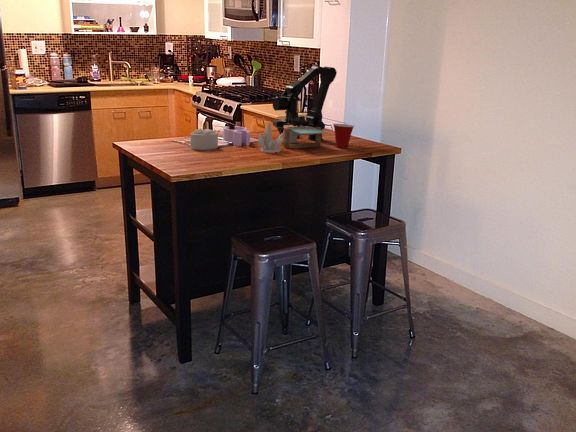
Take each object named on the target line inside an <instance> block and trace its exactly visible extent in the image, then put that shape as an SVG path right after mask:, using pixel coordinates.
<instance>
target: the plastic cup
mask: <svg viewBox="0 0 576 432" xmlns="http://www.w3.org/2000/svg"><path fill="white" fill-rule="evenodd" d="M333 128H334V136H335V146H336V148H337V149H348V147H349V144H350V141H351V136H352V132H353V129H354V128H355V125H353V124H347V123H333Z"/></svg>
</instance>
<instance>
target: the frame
mask: <svg viewBox="0 0 576 432" xmlns="http://www.w3.org/2000/svg"><path fill="white" fill-rule="evenodd" d="M316 129H319V130H321V129H322V128H320V127H316ZM322 130H323V129H322ZM290 131H291V129H287V128H284V131H283V135H284V137H283V138H284V139H283V148H284V149H297V148H298V149H300V148H316V147H321V145H322V142H321V141H322V140H321V133H317V134H316V140H314V142H310V143H309V142H308V143H289V139H290Z"/></svg>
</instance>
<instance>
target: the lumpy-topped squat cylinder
mask: <svg viewBox="0 0 576 432" xmlns="http://www.w3.org/2000/svg"><path fill="white" fill-rule="evenodd" d="M218 148H219V134H218V132H216V131H215V130H212V129H210V128H206V129H202V128H198V129H195V130H193V131H192V132H191V133H190V149H191V150H200V151H201V150H202V151H207V150H215V149H218Z"/></svg>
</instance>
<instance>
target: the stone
mask: <svg viewBox="0 0 576 432" xmlns="http://www.w3.org/2000/svg"><path fill="white" fill-rule="evenodd" d="M297 140H298V139H297V135H295V136H291V135H290V139H289V144H297Z"/></svg>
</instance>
